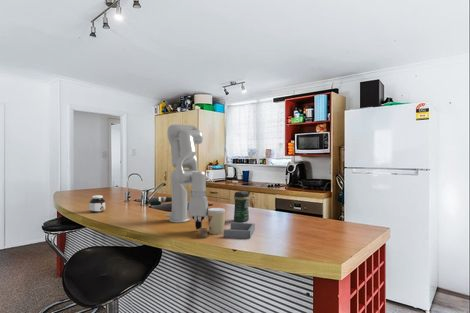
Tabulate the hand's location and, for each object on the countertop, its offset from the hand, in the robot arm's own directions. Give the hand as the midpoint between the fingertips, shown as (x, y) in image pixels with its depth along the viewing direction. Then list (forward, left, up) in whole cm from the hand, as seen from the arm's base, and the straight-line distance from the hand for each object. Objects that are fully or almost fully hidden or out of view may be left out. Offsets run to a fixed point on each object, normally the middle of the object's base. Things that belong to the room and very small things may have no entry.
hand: (198, 228), depth 147 cm
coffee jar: (+18, +29, -1) cm, 34 cm away
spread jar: (-91, +36, -2) cm, 98 cm away
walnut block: (+6, -10, -1) cm, 12 cm away
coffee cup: (+10, 0, -1) cm, 10 cm away
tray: (+22, 0, -1) cm, 22 cm away
